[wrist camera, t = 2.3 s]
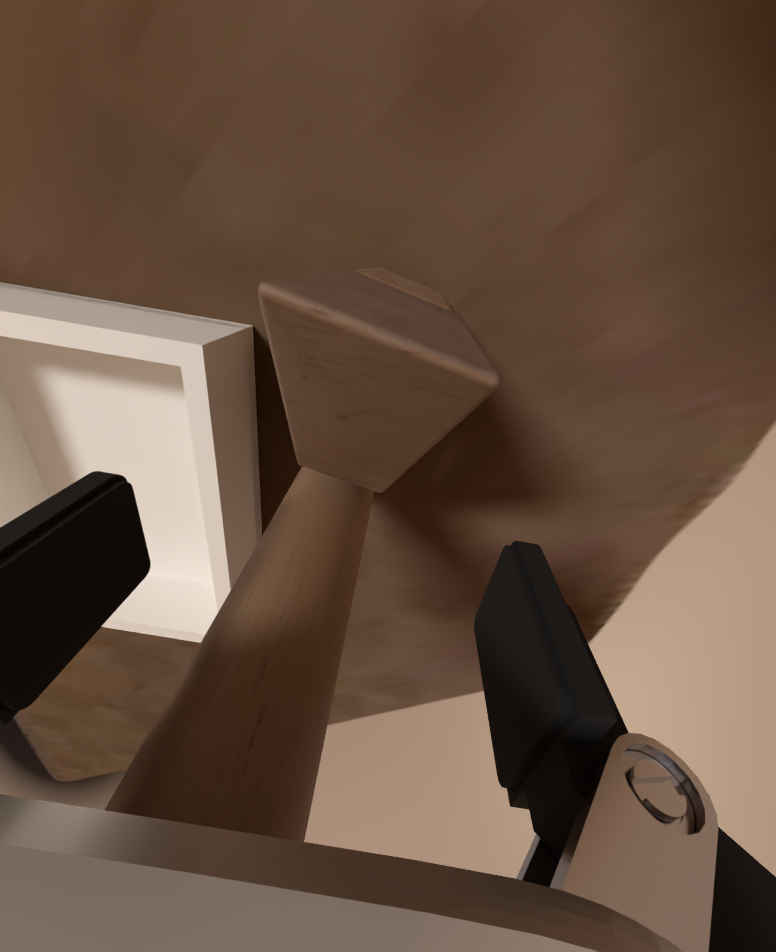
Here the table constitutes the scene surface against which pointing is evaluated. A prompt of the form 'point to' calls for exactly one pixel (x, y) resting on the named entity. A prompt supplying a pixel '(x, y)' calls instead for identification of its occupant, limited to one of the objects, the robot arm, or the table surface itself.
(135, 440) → the tray
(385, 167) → the table surface
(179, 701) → the brown rod with wedge
